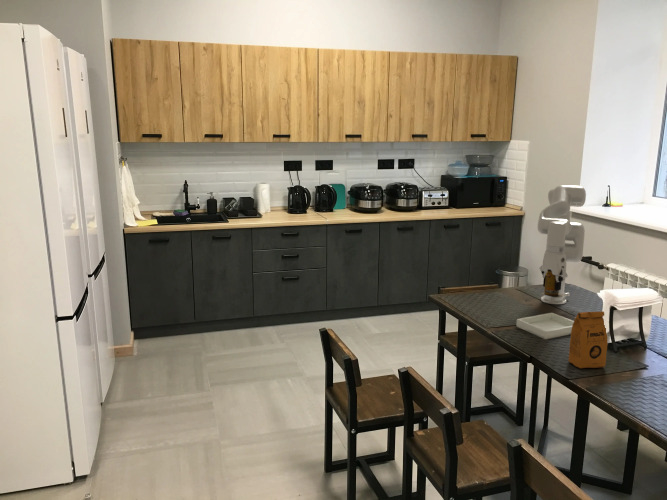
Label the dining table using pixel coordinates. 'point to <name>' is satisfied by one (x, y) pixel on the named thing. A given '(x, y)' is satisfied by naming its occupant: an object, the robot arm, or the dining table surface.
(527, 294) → the dining table surface
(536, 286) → the dining table surface
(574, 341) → the coffee package
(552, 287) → the condiment
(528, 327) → the tray
